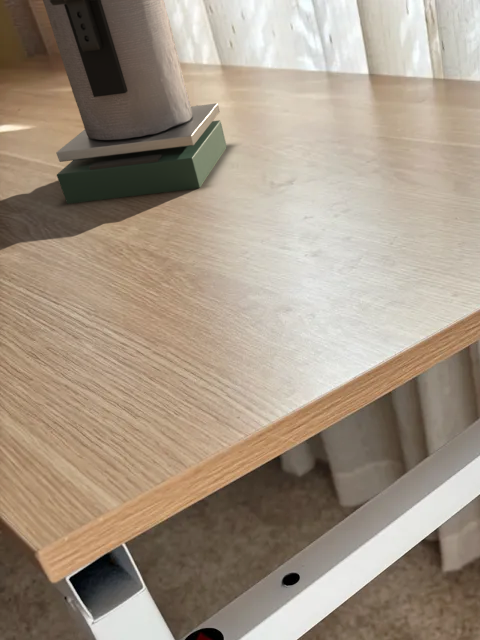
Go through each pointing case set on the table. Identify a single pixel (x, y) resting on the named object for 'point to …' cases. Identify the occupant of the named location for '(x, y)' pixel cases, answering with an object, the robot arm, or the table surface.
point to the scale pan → (142, 138)
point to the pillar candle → (128, 71)
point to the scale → (143, 170)
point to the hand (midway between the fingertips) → (127, 81)
